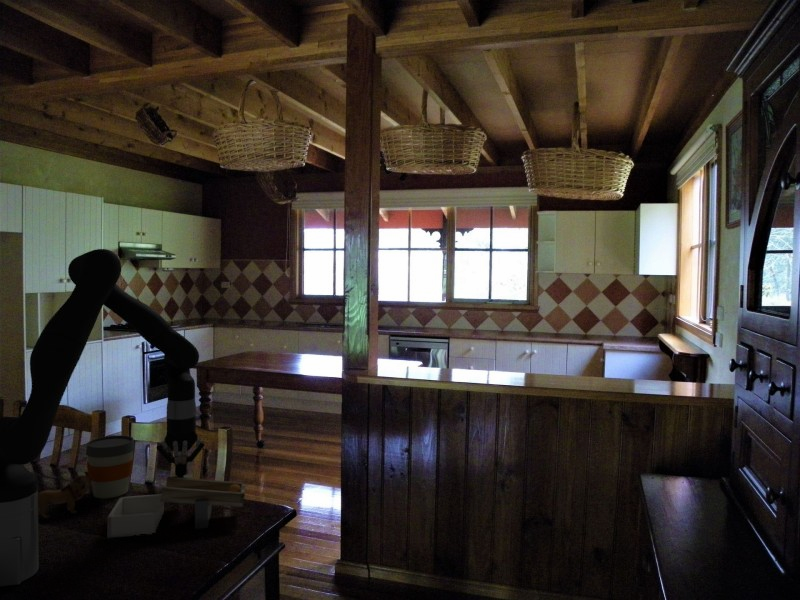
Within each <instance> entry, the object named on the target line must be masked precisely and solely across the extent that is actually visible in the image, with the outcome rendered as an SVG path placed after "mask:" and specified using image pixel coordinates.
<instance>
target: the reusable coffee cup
mask: <svg viewBox="0 0 800 600" xmlns="http://www.w3.org/2000/svg"><path fill="white" fill-rule="evenodd" d="M135 448H136V447H135V439H134V437H133V436H130V435H108V436H101V437H97V438H94V439H91V440H89V441H88V442H87V444H86V451H85V455H86V456H87V461H88V462H86V467H87V473H88V477H89V479H88V480H89V481H90V482H91V489H92V496H93V497H94V498H96V499H111V498H112V499H113V498H116V497H121V496H123V495H124V494H126V493H128V491H129V485H130V484H129V483H130V478H131V475H132V474H133V465H134V455H133V454H134V450H135Z"/></svg>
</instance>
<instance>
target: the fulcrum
mask: <svg viewBox="0 0 800 600" xmlns="http://www.w3.org/2000/svg"><path fill="white" fill-rule="evenodd" d="M212 510H213V505H208V499H203V500H195V504H194V530H201V529H208V528H209V524H210V523H209V522H210V518H211V514H212Z"/></svg>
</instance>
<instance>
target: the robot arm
mask: <svg viewBox="0 0 800 600" xmlns="http://www.w3.org/2000/svg"><path fill="white" fill-rule="evenodd" d="M67 271H68V274H67V275H68V277H69V279H70V281H71V282H72V283H73V284H74V285H75V286H74V288H73V290H72V291H71V294H70V295H69V297H68V298H67V299H66V300H65V302H64V303H63V304H62V305H61V306H60V308H58V310H57V311H56V312H55V313H54V315H52V317H51V318H50V319H49V321H48V322H47V323H46V324H45V326H44V328H43V329H42V331H41V333H40V334H39V336H38V339H37V340H36V342H35V344H34V346H33V348H32V351H31V353H30V356H29V370H30V381H31V390H30V395H29V398H28V400H27V403H26V405H25V407H24V409H23V411H22V413H21V414H20V416H19V417H17V416H0V587H8V586H17V585H21V584H22V582H24V581H26V580H28V579H30V578H32V577H33V576H35V574H36V573H38V571H39V568H40V567H39V565H40V564H39V508H38V493H39V481H38V477H37V475H35V474H34V473H33V472H31V471H29V469H27V468H26V467H25V465H28V464H30V463H32V462H33V461H35V460H36V459H37V458H38V457H39V456H40V454H41V453H42V452H43V450H44V448H45V446H46V445H47V442H48V440H49V437H50V435H51V431H52V428H53V425H54V423H55V419H56V416H57V413H58V410H59V407H60V404H61V402H62V400H63V396H64V395H65V391H66V389H67V387H68V385H69V382H70V379H72V375H73V373H74V371H75V369H76V366H77V365H78V363H79V361H80V358H81V357H82V354H83V352H84V350H85V348H86V346H87V342H88V340H89V338H90V335H91V333H92V331H93V329H94V327H95V324H96V322H97V320H98V318H99V314H100V312H101V310H102V308H103V307H106V308H107V309H109V310H110V311H111V312H113V313H114V314H115V315H116V316H118V317H119V318H120V319H122V321H124V322H126V324H127V325H129V326H130V327H131V328H132V329H133V330H135V332H136V333H138V335H140V337H142V338H143V339H144V340H145V341H146V342H147V343H148V344H149V345H151V346H152V347H153V348H155V349H157V350H159V351H161V352H162V353H163V362H164V363H163V364H164V369H165V376H166V380H167V401H166V435H165V437H164V440H162V442H159V443H158V444H157V446H156V447H155V448H156V450H157V451H158V453H160V454H161V456H162V457H163V458H164V459H165V460H166V462H168V463H169V464H171V463H172V464H174V474H175V475H176V476H178V478H180V477H184V475H187V472H188V463H189V462H190V463H192V462H193V461H194V459H196V457H197V456H198V455H199V453H200V452H201V451H202V450H203V448H204V447H205V445H206V442H205V441H204V440H201V439H199V437H198V434H197V404H196V381H195V379H194V377H192V374H191V369H193V368H194V367H196V366H197V364H198V363H199V360H200V354H199V351H198V348H197V347H196V346H195V345H194V344H193V343H192V342H191V341H189V340H188V339H187V338H186V337H185V336H183V335H182V334H181V333H179V332H178V331H177V330H175V329H174V328H173V327H172V325H171V324H170V323H169V322H168V321H167V320H166V319H165V318H164V317H163V316H162V315H161V314H160V313H159V312H157V311H156V310H155V309H153V307H152V306H149V305H148V304H147V303H145V302H142V301H140V300H139V299H137V298H135V297H133V296H132V295H130V294H129V293H128V292H126V291H125V290H124V289H122V288H121V287H120V286H119V285H118V284H117V282H118V281H119V279H120V277H121V274H122V263H121V259H120V258H119V256H118V255H117V254H116V253H115V252H114V251H113V250H110V249H107V248H97V249H93V250H90V251H88V252H85V253H82V254H81V255H78V256H76V257H75V258H73V259H72V260H71V261H70V263H69V265H68V269H67ZM193 445H195V449H194V450H193V451H192V452H191V454H190V455H189V451H190V449H192V447H193ZM168 448H169V449H170V450H171V451H172V452H173V453H171V452H170V451H169V450H168Z"/></svg>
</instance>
